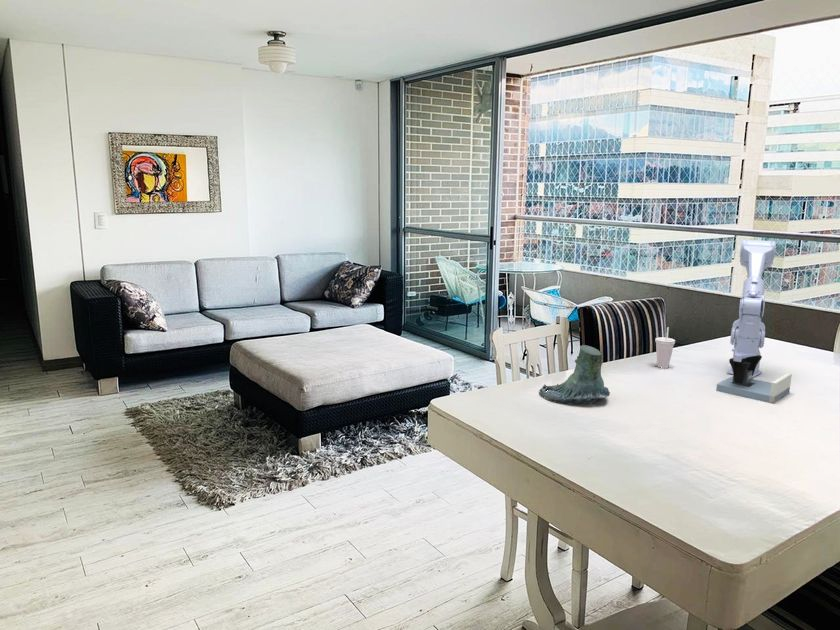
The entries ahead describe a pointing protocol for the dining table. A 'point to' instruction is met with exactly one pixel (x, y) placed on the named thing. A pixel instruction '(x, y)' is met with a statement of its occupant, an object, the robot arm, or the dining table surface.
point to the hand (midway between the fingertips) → (743, 380)
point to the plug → (745, 379)
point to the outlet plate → (759, 388)
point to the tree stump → (580, 381)
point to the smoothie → (664, 350)
